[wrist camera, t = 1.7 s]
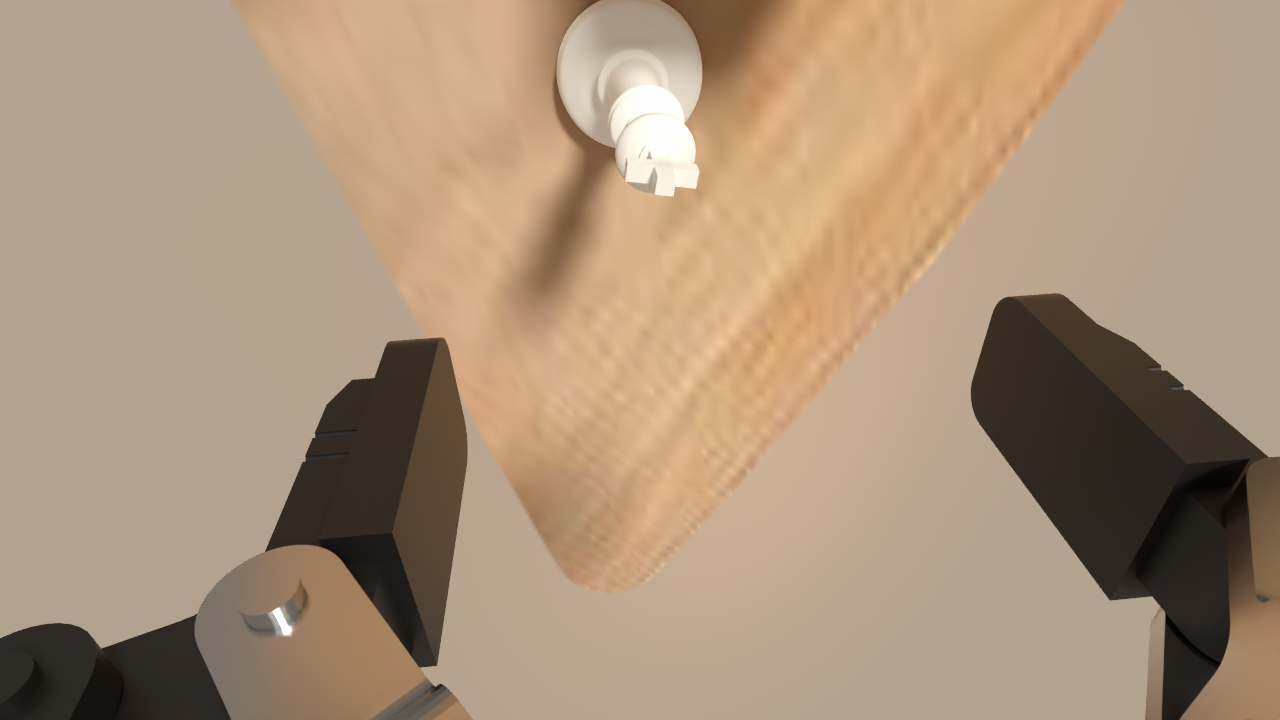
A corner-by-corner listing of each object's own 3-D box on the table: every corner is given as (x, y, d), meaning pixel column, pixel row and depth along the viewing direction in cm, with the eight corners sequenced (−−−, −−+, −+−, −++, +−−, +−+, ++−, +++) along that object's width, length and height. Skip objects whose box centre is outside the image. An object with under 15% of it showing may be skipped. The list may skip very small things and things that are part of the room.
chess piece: (562, -18, 23) (565, 57, 14) (714, 4, 23) (798, 86, 15) (551, 137, 25) (548, 274, 17) (687, 152, 26) (746, 289, 18)
